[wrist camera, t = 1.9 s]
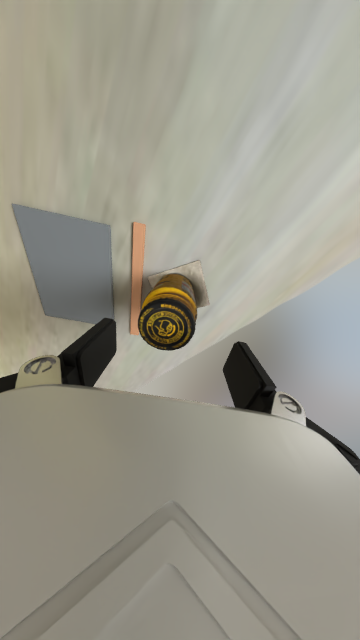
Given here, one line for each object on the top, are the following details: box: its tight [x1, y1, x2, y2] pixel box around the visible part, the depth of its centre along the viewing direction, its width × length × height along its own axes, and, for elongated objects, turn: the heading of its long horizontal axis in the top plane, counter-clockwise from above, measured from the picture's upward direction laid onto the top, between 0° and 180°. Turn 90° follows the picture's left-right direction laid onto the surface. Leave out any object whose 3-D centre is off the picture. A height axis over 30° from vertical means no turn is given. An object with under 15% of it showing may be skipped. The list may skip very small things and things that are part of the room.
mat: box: [12, 204, 114, 324], centre depth 21 cm, size 16×12×1 cm
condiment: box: [138, 260, 210, 350], centre depth 17 cm, size 7×8×12 cm
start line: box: [130, 222, 146, 335], centre depth 22 cm, size 18×2×1 cm, turn 169°
